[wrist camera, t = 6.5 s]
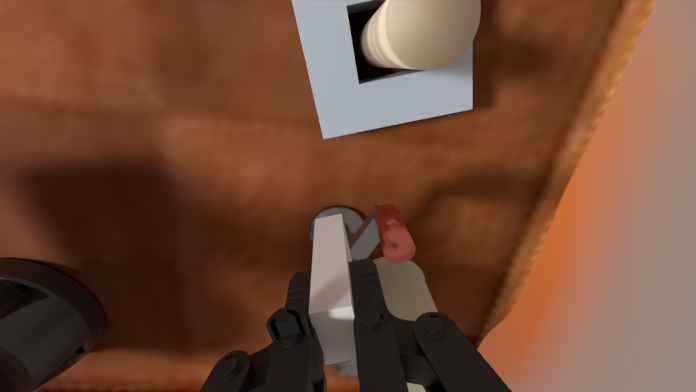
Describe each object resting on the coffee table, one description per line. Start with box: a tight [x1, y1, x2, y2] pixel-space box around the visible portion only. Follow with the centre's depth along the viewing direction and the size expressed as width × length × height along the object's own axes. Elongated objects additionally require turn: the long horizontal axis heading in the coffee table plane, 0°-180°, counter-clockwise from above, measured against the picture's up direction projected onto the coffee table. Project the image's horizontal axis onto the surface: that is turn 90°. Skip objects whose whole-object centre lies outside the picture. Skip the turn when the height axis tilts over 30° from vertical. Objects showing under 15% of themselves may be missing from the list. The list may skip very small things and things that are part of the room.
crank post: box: [310, 205, 364, 243], centre depth 28 cm, size 6×6×6 cm
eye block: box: [292, 0, 473, 139], centre depth 22 cm, size 12×12×4 cm
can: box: [359, 257, 438, 392], centre depth 29 cm, size 9×9×12 cm
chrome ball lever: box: [348, 204, 416, 264], centre depth 22 cm, size 4×10×6 cm, turn 148°
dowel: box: [358, 0, 481, 70], centre depth 17 cm, size 4×4×14 cm
